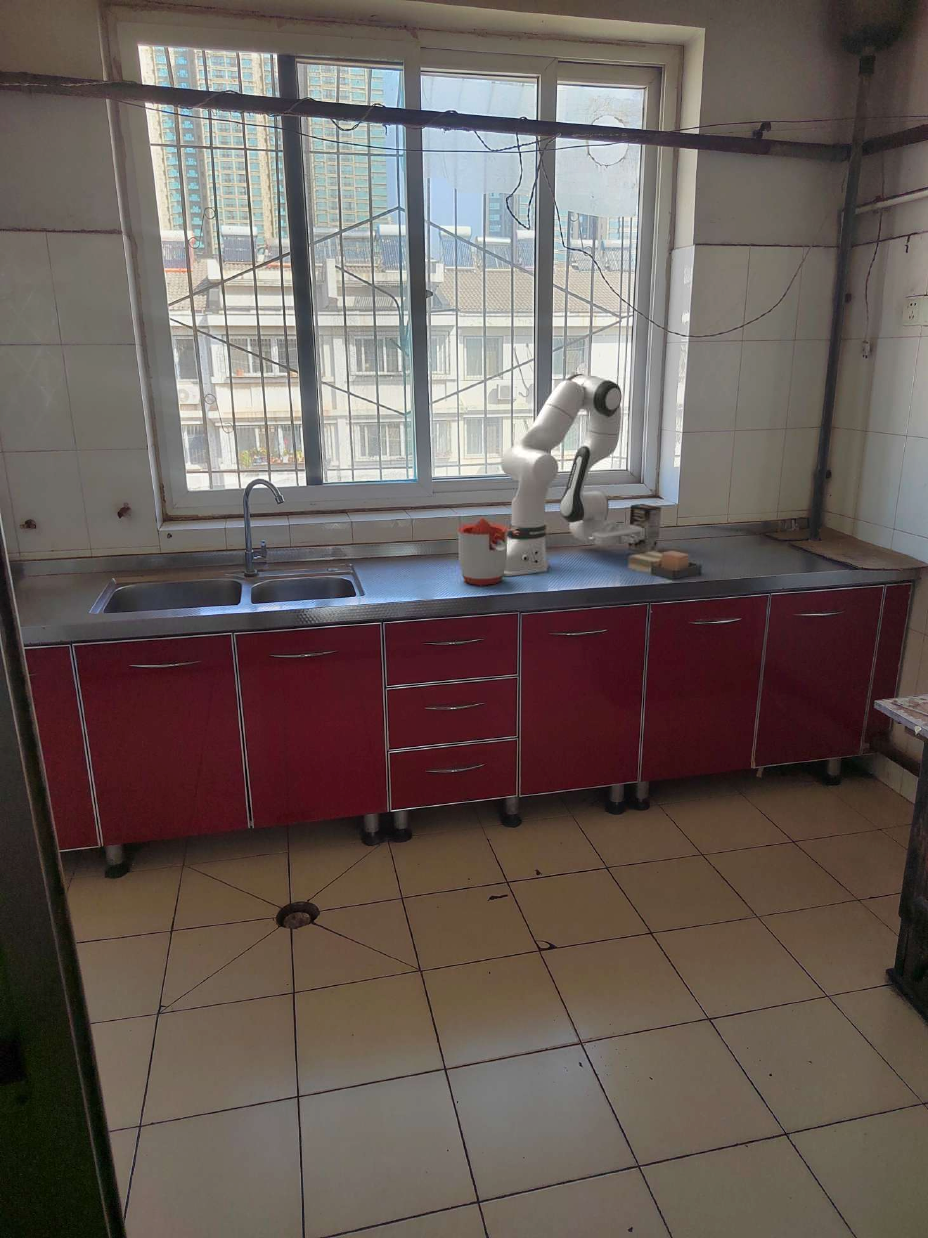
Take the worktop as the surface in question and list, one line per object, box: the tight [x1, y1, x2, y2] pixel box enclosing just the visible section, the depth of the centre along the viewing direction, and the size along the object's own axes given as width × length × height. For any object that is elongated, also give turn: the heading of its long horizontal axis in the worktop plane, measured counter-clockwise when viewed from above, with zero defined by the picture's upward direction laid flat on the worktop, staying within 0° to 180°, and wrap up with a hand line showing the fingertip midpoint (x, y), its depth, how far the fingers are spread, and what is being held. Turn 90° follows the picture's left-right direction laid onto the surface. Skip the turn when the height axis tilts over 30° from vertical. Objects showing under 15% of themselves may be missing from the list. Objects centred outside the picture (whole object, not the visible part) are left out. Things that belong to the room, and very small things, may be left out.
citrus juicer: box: [457, 518, 509, 586], centre depth 251 cm, size 16×17×20 cm
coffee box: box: [628, 503, 662, 553], centre depth 290 cm, size 9×6×16 cm
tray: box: [650, 561, 703, 581], centre depth 259 cm, size 13×9×3 cm
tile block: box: [661, 550, 690, 570], centre depth 259 cm, size 5×6×7 cm
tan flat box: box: [627, 551, 663, 575], centre depth 267 cm, size 12×10×4 cm
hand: (635, 540), depth 271 cm, fingers closed
